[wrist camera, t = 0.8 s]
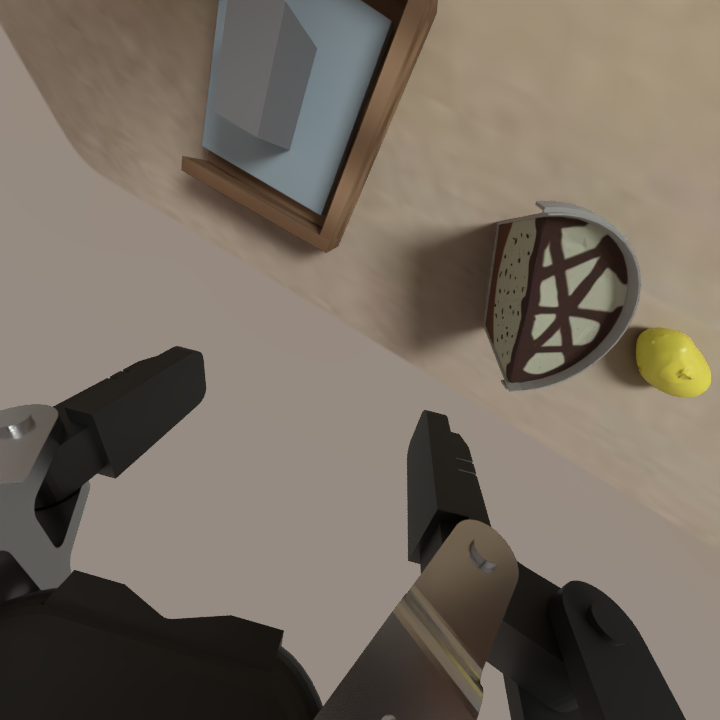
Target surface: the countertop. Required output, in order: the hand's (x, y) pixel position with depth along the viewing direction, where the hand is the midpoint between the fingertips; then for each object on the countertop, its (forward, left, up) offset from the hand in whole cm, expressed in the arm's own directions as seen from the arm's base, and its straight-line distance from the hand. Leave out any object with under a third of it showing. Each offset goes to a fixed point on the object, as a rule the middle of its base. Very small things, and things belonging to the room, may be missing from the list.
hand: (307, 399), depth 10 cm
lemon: (-6, +27, -20) cm, 34 cm away
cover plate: (-8, -12, -19) cm, 24 cm away
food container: (-6, +12, -20) cm, 24 cm away
